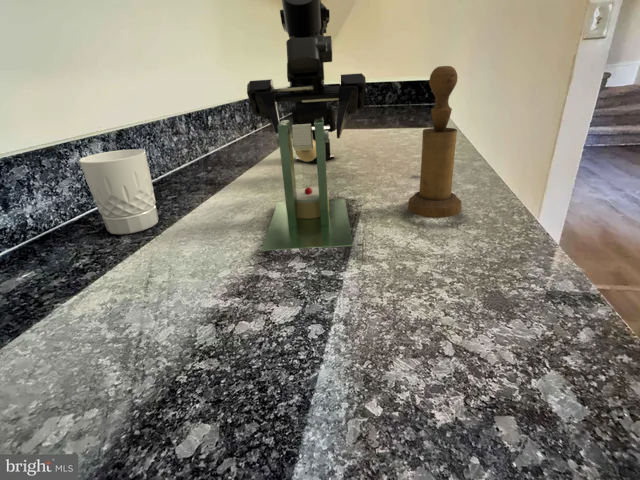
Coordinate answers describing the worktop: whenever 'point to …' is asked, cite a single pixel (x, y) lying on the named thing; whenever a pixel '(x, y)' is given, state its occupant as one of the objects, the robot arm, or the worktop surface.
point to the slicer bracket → (285, 221)
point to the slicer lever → (304, 142)
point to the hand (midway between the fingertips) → (308, 138)
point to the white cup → (122, 189)
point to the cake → (308, 203)
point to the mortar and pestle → (438, 154)
